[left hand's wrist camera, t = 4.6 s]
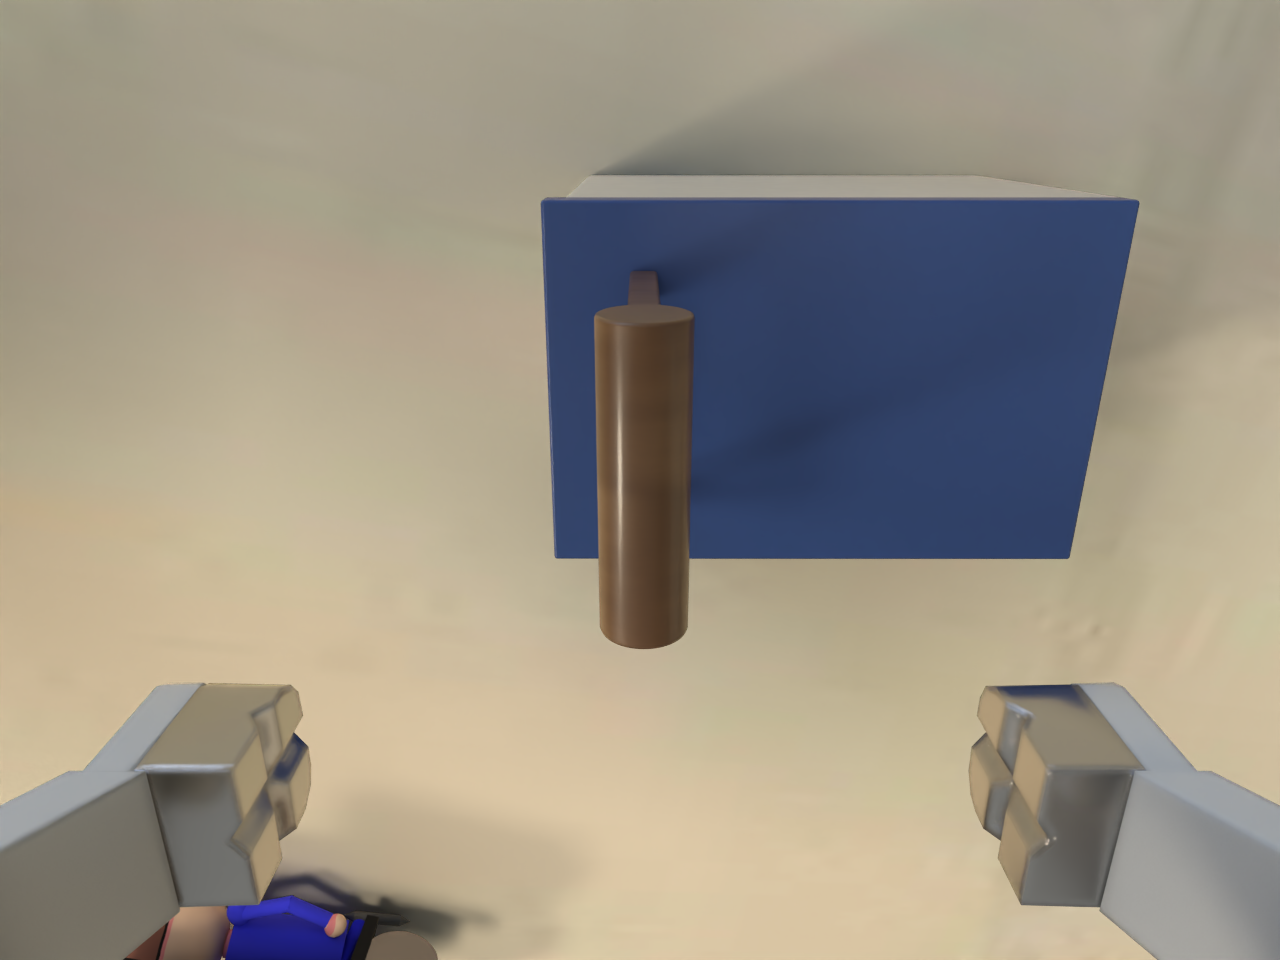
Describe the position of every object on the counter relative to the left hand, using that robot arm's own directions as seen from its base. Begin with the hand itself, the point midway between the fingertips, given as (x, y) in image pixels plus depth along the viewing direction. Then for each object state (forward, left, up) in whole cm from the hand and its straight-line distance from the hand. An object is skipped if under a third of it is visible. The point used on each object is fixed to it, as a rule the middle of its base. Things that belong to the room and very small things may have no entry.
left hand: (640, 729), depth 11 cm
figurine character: (-36, -2, -26) cm, 44 cm away
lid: (+3, -4, -15) cm, 16 cm away
